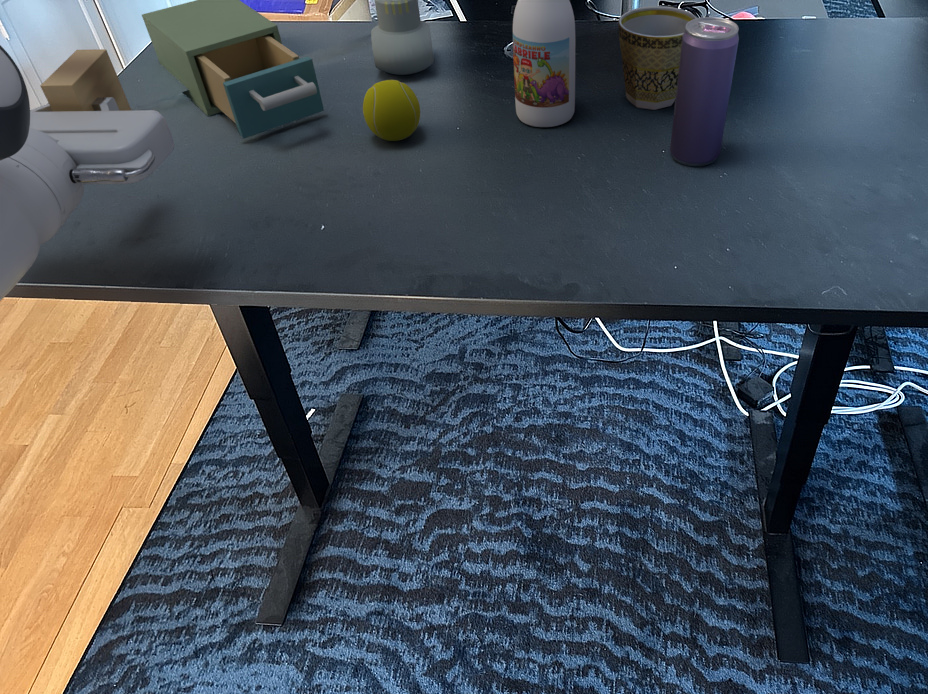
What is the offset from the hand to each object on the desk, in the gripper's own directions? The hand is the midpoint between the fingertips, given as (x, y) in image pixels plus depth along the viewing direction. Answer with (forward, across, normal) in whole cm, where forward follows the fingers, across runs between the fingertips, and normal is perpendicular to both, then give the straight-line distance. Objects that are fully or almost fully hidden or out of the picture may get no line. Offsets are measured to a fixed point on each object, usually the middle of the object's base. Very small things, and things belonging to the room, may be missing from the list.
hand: (87, 104), depth 75 cm
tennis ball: (+20, -26, +14) cm, 35 cm away
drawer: (+26, -8, +13) cm, 30 cm away
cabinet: (+36, +1, +14) cm, 39 cm away
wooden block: (+1, 0, +6) cm, 6 cm away
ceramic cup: (+30, -59, +14) cm, 68 cm away
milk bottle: (+25, -45, +14) cm, 53 cm away
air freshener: (+40, -24, +14) cm, 49 cm away
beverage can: (+14, -63, +14) cm, 66 cm away
